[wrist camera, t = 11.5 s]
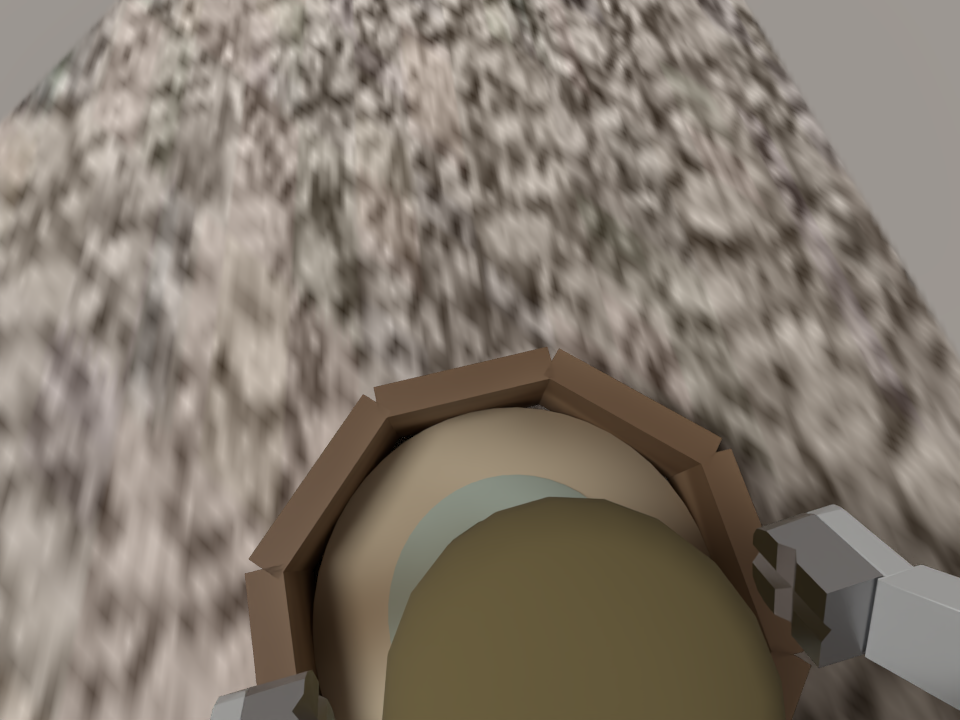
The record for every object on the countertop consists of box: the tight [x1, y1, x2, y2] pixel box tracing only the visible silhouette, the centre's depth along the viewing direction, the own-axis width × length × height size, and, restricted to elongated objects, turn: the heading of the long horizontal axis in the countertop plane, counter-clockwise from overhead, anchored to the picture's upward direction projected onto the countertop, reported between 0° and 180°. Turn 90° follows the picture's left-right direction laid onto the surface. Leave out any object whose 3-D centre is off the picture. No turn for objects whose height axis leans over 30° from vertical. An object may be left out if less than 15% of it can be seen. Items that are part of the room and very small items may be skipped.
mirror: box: [245, 347, 811, 720], centre depth 16 cm, size 14×14×3 cm
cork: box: [382, 497, 786, 720], centre depth 11 cm, size 6×6×11 cm
